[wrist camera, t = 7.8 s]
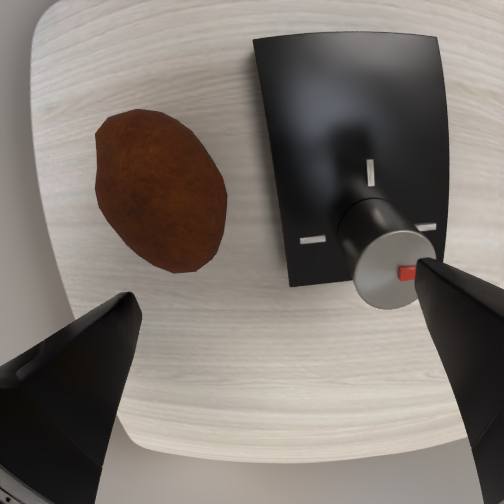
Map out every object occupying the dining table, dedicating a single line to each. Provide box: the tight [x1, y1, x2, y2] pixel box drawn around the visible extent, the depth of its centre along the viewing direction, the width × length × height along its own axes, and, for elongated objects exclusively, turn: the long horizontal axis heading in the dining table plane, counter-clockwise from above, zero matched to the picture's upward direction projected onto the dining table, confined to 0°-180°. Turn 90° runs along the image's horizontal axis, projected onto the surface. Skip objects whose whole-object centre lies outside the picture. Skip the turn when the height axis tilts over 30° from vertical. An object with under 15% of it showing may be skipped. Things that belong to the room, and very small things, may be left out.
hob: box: [253, 32, 449, 287], centre depth 16 cm, size 15×10×3 cm, turn 9°
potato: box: [95, 109, 227, 273], centre depth 16 cm, size 7×9×6 cm
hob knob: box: [338, 199, 436, 309], centre depth 14 cm, size 4×4×5 cm
